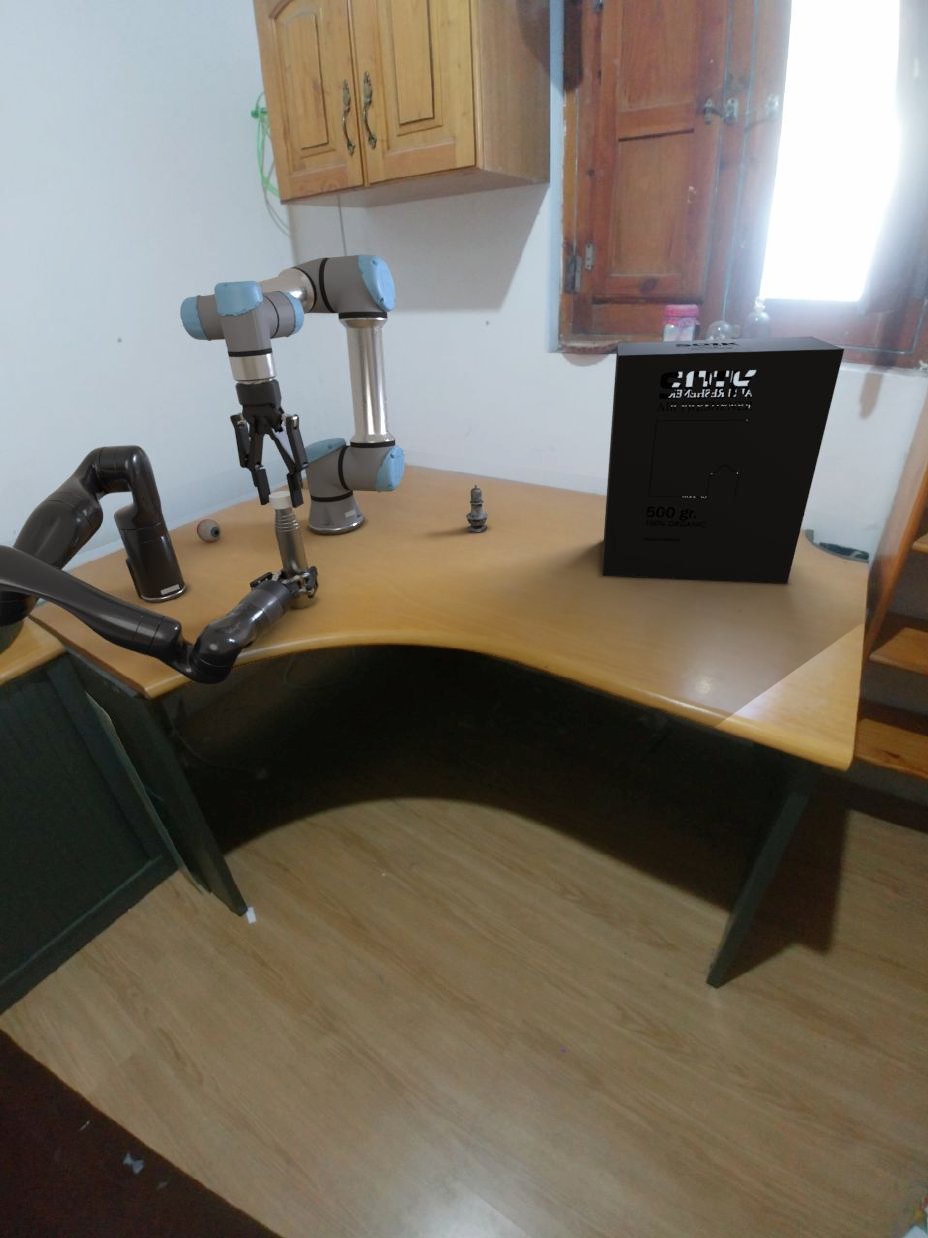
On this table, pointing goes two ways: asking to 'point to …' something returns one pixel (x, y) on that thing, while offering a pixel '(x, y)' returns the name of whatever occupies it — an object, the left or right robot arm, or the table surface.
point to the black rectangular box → (714, 456)
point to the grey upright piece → (476, 512)
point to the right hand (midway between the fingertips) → (282, 503)
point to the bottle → (291, 550)
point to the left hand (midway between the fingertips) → (302, 569)
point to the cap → (280, 500)
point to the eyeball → (208, 530)
